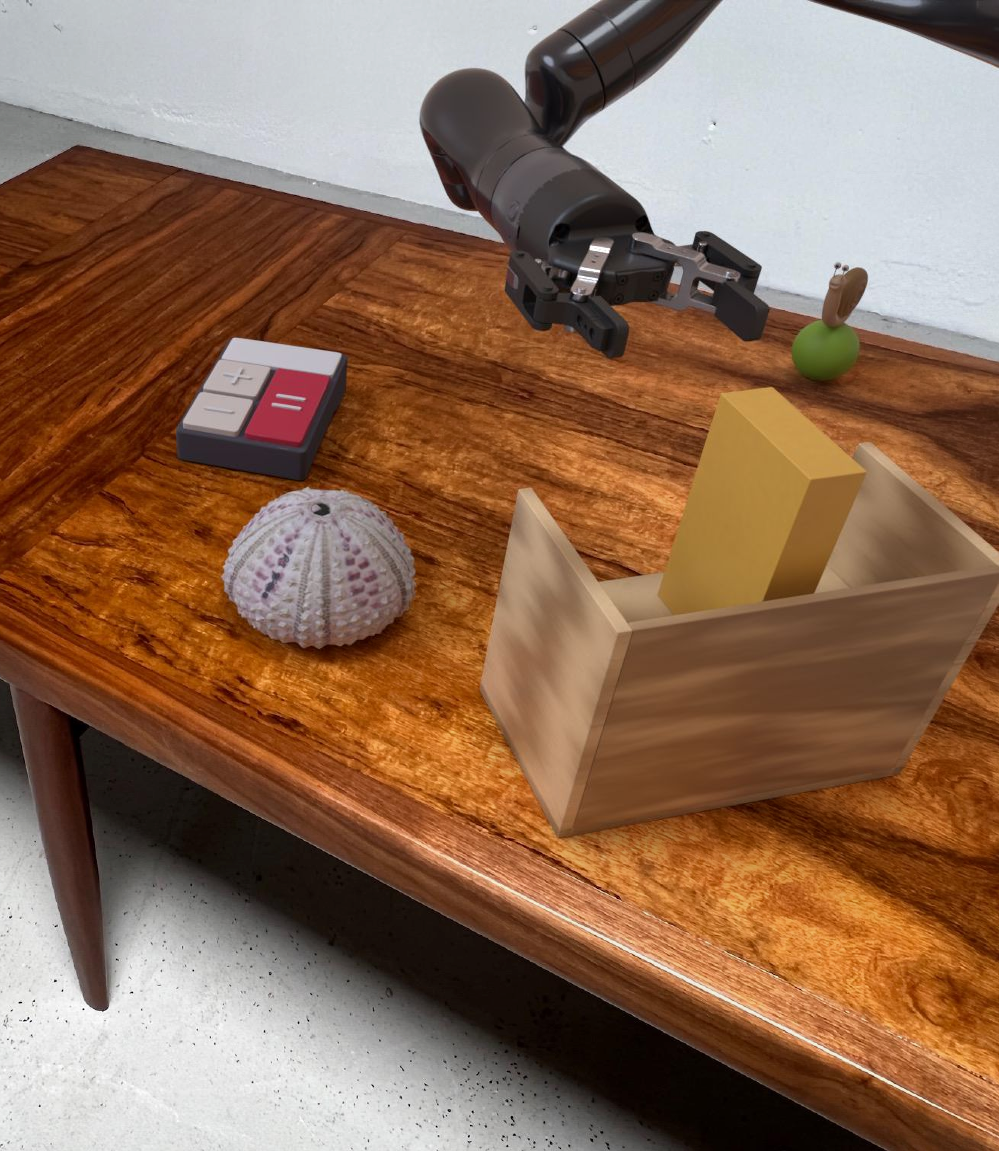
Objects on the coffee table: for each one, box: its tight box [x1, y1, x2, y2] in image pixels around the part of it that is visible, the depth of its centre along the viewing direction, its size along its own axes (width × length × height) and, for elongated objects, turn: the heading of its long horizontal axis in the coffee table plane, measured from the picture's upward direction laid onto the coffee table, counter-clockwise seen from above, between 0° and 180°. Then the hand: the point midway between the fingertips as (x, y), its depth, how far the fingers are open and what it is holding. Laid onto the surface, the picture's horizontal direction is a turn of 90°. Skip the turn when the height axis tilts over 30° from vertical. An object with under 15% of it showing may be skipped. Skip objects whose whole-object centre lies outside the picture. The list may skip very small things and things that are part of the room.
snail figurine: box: [790, 261, 869, 382], centre depth 99 cm, size 5×6×12 cm
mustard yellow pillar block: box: [658, 386, 867, 616], centre depth 61 cm, size 3×8×14 cm, turn 12°
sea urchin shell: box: [220, 486, 417, 650], centre depth 77 cm, size 13×14×8 cm
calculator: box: [175, 337, 349, 481], centre depth 96 cm, size 11×4×15 cm
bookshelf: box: [479, 441, 999, 839], centre depth 65 cm, size 12×22×16 cm, turn 102°
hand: (690, 335), depth 63 cm, fingers open, 8 cm apart
